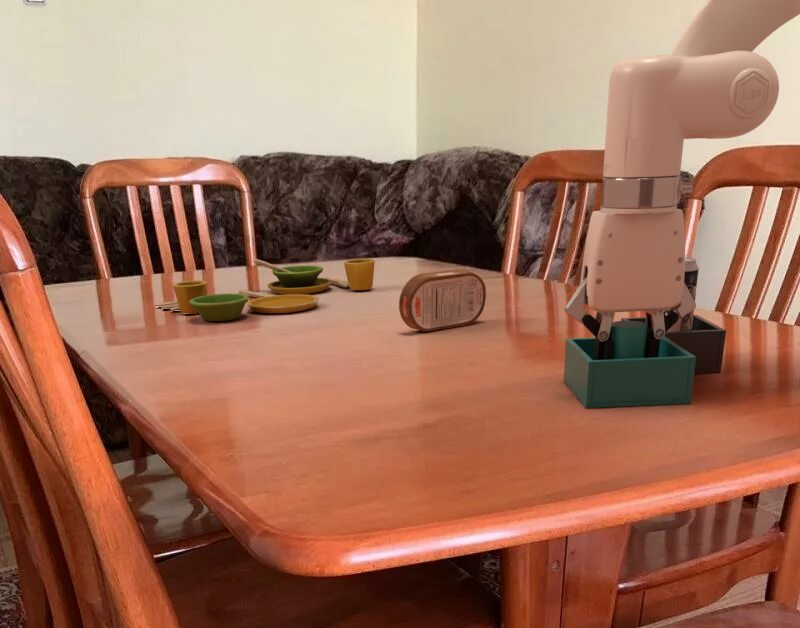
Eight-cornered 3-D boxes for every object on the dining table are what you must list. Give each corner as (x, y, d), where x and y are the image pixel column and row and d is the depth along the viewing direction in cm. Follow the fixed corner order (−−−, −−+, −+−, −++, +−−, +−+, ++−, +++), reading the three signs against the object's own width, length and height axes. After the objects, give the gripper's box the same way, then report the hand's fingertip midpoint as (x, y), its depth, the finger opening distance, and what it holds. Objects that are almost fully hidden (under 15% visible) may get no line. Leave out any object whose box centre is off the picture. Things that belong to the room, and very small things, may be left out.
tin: (476, 319, 132) (477, 265, 129) (489, 322, 130) (489, 267, 126) (398, 333, 125) (396, 276, 122) (410, 336, 123) (408, 278, 119)
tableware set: (328, 280, 177) (325, 249, 174) (409, 294, 157) (408, 259, 154) (144, 308, 154) (138, 272, 151) (211, 328, 134) (206, 288, 131)
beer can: (690, 365, 100) (702, 261, 95) (650, 365, 101) (659, 262, 96) (685, 355, 104) (696, 256, 99) (646, 355, 105) (655, 257, 100)
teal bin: (657, 376, 98) (661, 334, 96) (690, 403, 88) (696, 356, 85) (563, 380, 98) (565, 338, 95) (585, 408, 87) (588, 361, 85)
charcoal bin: (692, 353, 107) (696, 314, 105) (720, 372, 98) (726, 330, 96) (618, 357, 107) (621, 318, 105) (640, 376, 98) (643, 334, 96)
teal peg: (636, 382, 94) (641, 319, 91) (646, 391, 91) (652, 327, 88) (601, 383, 94) (605, 321, 91) (610, 393, 91) (615, 328, 88)
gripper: (707, 191, 87) (687, 362, 95) (550, 197, 87) (543, 368, 95) (735, 195, 81) (711, 379, 88) (565, 201, 80) (556, 386, 88)
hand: (624, 372), depth 92 cm, fingers closed on teal peg, 4 cm apart
